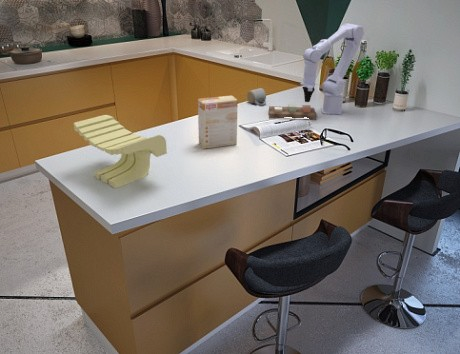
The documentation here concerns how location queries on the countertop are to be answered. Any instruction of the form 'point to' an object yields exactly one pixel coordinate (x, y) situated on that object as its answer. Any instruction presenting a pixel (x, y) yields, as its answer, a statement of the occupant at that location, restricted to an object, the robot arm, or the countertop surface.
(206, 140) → the coffeecake box
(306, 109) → the terracotta button
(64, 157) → the countertop surface
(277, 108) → the cream button
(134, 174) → the slatted lounge chair
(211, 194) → the countertop surface
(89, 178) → the countertop surface
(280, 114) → the button panel
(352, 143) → the countertop surface
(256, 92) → the ceramic mug
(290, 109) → the sage button
